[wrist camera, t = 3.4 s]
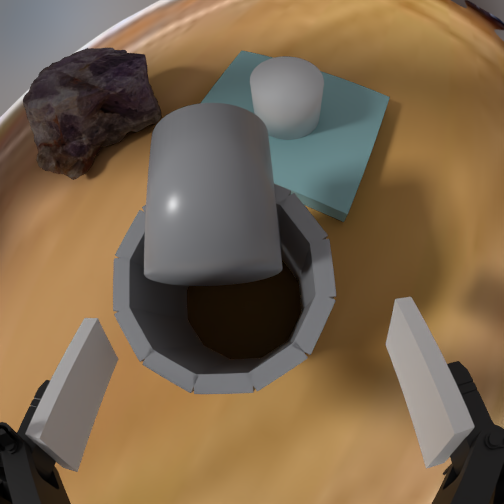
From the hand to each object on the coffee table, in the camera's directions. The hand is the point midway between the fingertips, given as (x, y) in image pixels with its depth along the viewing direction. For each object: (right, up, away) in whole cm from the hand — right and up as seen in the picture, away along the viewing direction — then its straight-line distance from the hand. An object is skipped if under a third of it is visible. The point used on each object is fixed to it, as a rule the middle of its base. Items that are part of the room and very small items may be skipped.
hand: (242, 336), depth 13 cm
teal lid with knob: (+3, +14, +11) cm, 18 cm away
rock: (-13, +15, +13) cm, 24 cm away
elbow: (0, 0, +8) cm, 8 cm away
